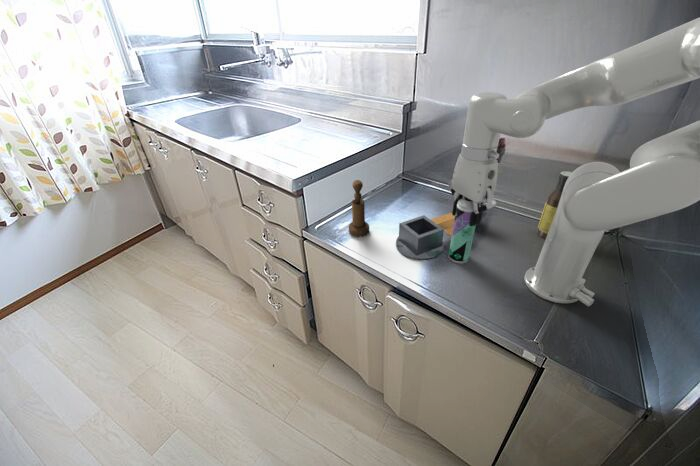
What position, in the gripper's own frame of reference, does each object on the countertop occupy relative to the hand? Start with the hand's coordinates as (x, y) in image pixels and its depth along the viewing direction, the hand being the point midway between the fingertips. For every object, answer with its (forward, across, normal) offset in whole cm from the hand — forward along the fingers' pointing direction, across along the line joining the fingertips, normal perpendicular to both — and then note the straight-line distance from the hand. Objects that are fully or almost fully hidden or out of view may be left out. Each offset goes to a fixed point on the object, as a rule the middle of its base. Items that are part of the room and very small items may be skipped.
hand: (465, 218), depth 83 cm
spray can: (+13, 0, 0) cm, 13 cm away
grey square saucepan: (+13, +10, +3) cm, 17 cm away
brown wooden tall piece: (+13, +26, +18) cm, 34 cm away
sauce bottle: (+13, -5, -31) cm, 34 cm away
